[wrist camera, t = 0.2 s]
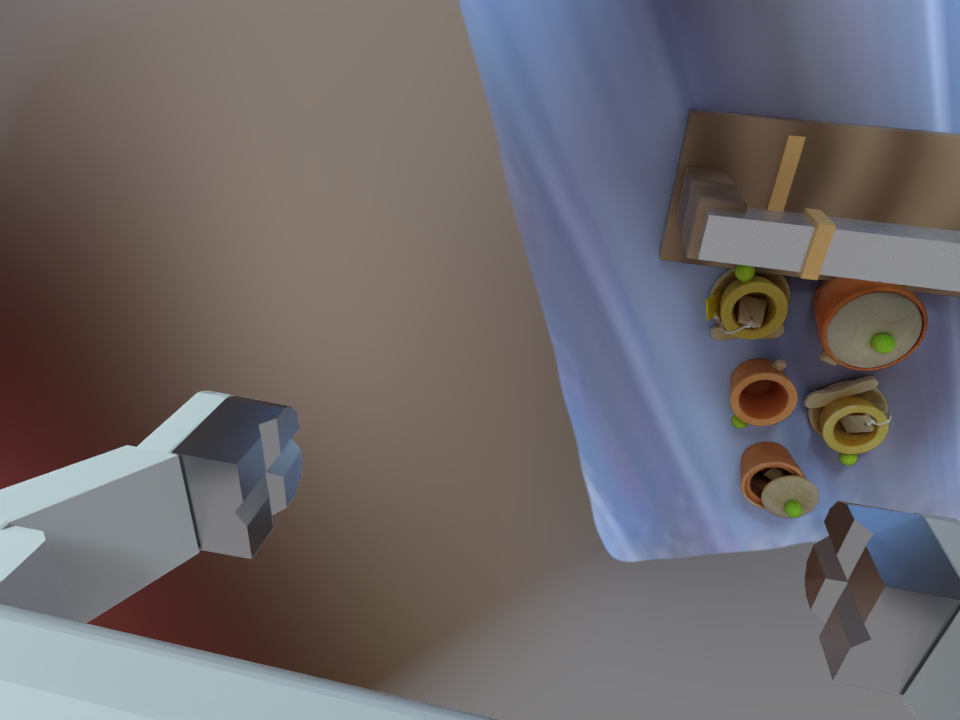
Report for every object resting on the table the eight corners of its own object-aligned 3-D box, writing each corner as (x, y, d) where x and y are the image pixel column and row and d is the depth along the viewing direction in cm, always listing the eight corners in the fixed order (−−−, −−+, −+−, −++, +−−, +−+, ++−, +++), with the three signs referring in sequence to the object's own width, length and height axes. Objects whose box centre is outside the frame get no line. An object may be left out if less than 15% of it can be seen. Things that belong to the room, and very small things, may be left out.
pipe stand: (658, 254, 56) (668, 320, 44) (689, 109, 50) (710, 141, 38) (1033, 300, 52) (1155, 387, 40) (1115, 148, 46) (1288, 197, 34)
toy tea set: (697, 258, 56) (710, 302, 47) (898, 223, 51) (951, 265, 43) (724, 489, 67) (738, 557, 59) (890, 477, 62) (931, 549, 54)
